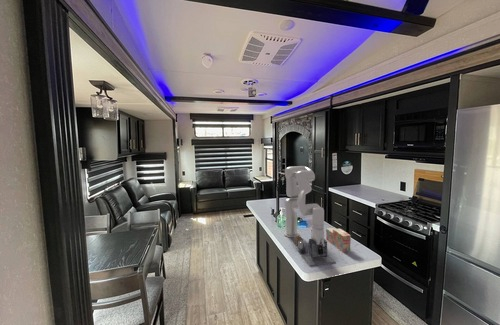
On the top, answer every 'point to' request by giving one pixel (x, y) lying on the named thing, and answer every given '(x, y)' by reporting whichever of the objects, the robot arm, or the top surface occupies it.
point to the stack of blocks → (339, 239)
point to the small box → (316, 249)
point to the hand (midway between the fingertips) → (317, 251)
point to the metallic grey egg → (301, 246)
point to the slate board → (317, 260)
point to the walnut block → (297, 240)
